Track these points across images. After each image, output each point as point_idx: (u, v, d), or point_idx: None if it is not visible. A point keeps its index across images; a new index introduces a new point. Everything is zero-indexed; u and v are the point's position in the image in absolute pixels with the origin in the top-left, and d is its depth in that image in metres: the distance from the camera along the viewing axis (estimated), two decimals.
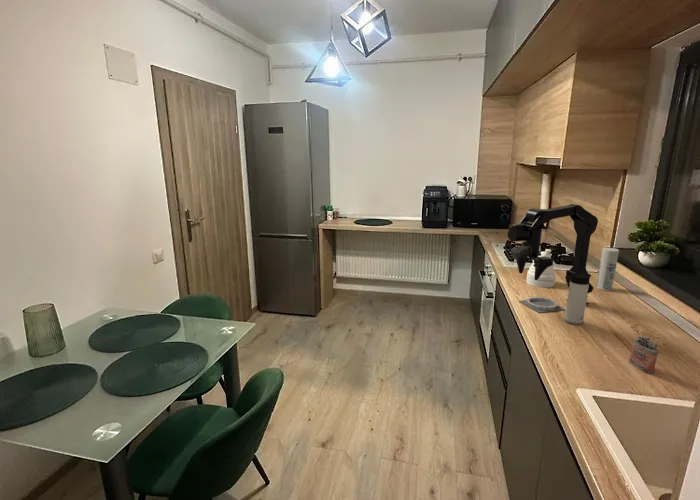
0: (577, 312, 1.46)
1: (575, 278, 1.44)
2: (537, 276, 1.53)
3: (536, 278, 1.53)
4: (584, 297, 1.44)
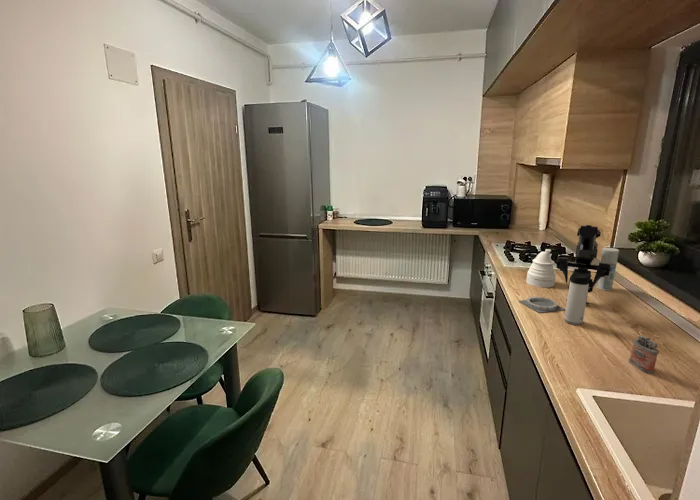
0: (577, 312, 1.46)
1: (575, 278, 1.44)
2: (595, 282, 1.50)
3: (594, 284, 1.50)
4: (584, 297, 1.44)
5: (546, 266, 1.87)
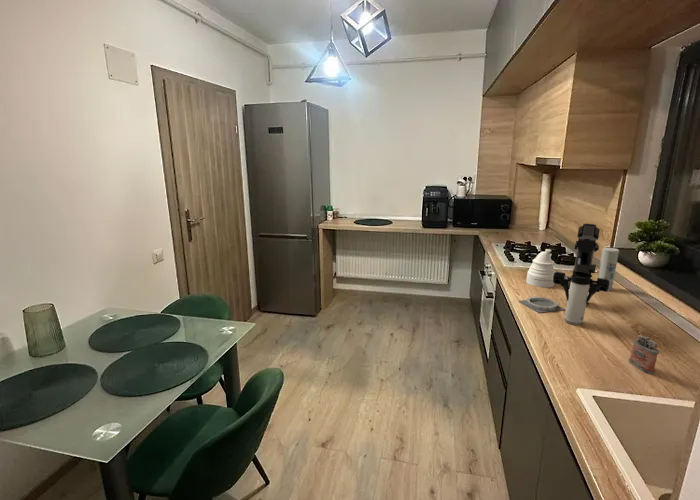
0: (578, 312, 1.46)
1: (576, 278, 1.43)
2: (589, 298, 1.45)
3: (588, 300, 1.45)
4: (585, 297, 1.44)
5: (546, 266, 1.87)
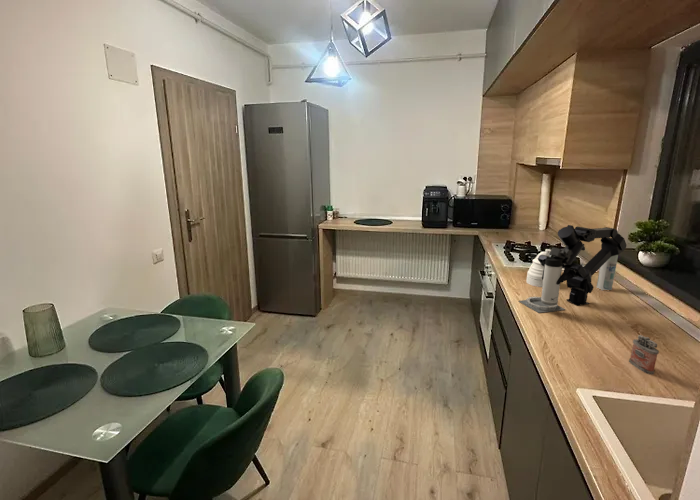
0: (548, 293, 1.56)
1: (546, 260, 1.55)
2: (560, 280, 1.53)
3: (558, 282, 1.53)
4: (554, 279, 1.53)
5: None
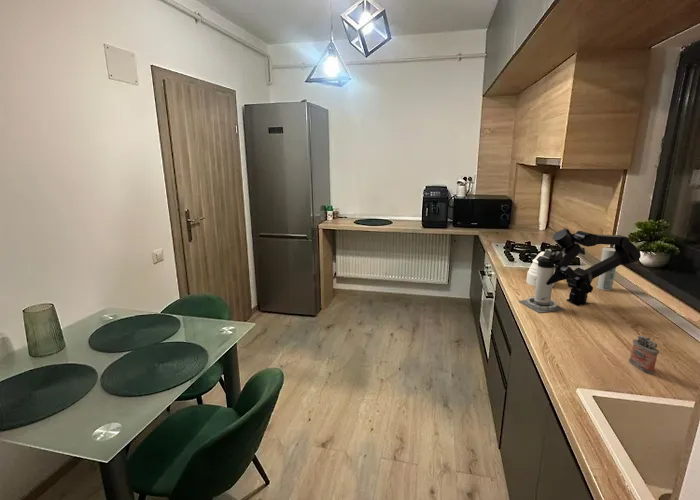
0: (538, 292, 1.62)
1: (538, 261, 1.61)
2: (550, 281, 1.59)
3: (548, 282, 1.59)
4: (544, 279, 1.60)
5: None
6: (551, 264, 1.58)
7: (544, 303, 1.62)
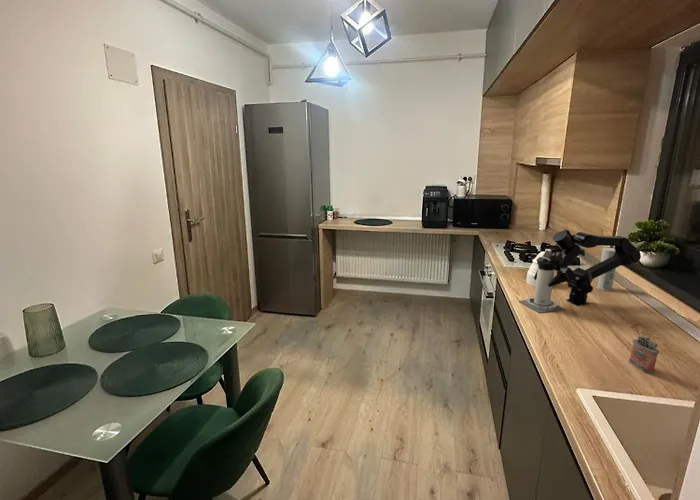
0: (538, 294, 1.63)
1: None
2: (552, 283, 1.57)
3: (550, 284, 1.58)
4: (544, 282, 1.60)
5: None
6: (551, 266, 1.58)
7: (544, 305, 1.62)
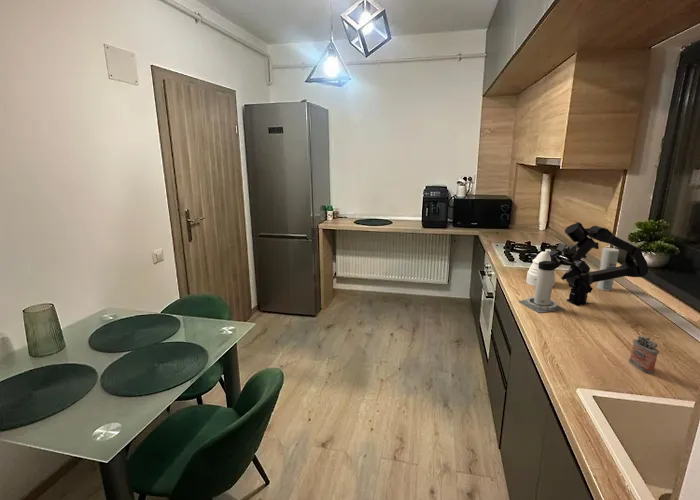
0: (538, 294, 1.63)
1: (539, 263, 1.62)
2: (566, 276, 1.58)
3: (564, 277, 1.58)
4: (544, 282, 1.60)
5: None
6: (552, 267, 1.58)
7: (544, 305, 1.62)
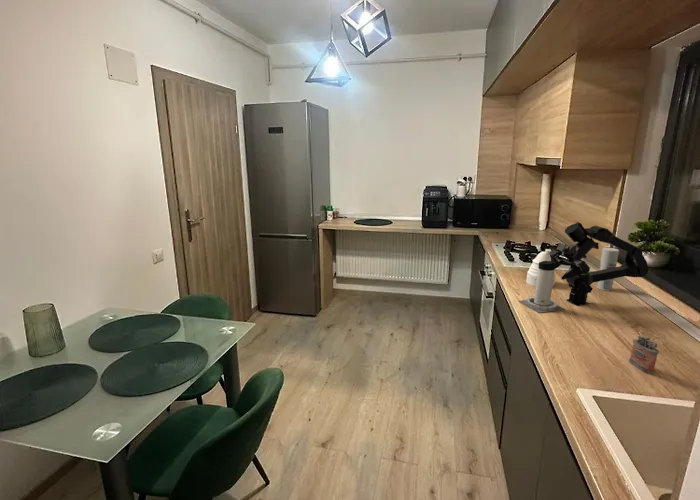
0: (538, 294, 1.63)
1: (539, 263, 1.62)
2: (566, 276, 1.58)
3: (563, 277, 1.58)
4: (544, 282, 1.60)
5: None
6: (552, 267, 1.58)
7: (544, 305, 1.62)
